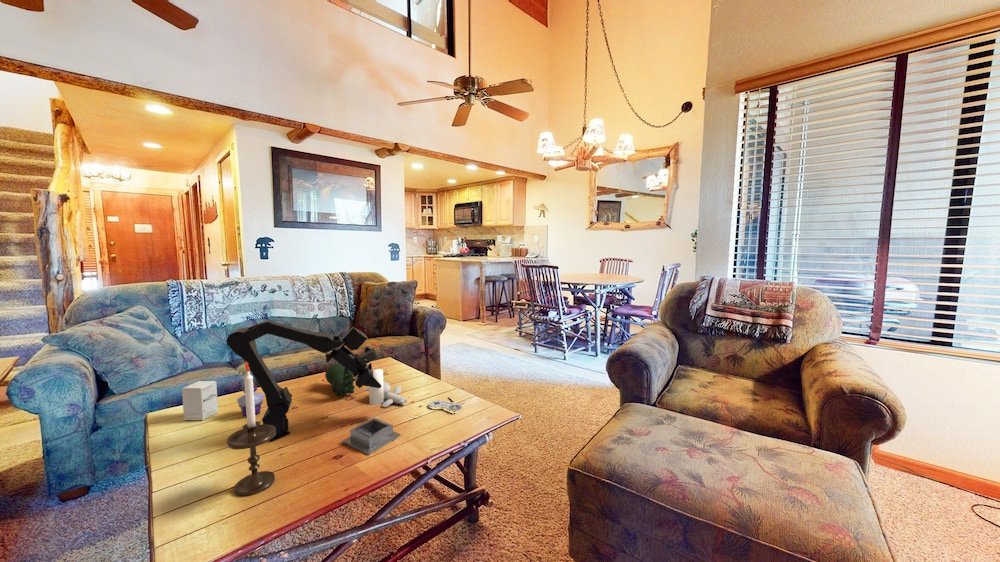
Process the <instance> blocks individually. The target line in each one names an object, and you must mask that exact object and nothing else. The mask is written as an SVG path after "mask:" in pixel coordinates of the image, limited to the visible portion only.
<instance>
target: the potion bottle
mask: <svg viewBox="0 0 1000 562" xmlns="http://www.w3.org/2000/svg"><path fill="white" fill-rule="evenodd" d="M253 388H254V404H255V415H257V414H259V415H260V414H261V413H260V412H261V409H262V405H263V403H264V399H265V398H264V397H265V393H262V392H257V390H258V386H257V385H256V383H255V382H253ZM242 391H243V393H244V395H241V396H239V398H237V399H236V401H237V404H238V406H239V408H240V410H241V413H242V416H245V417H247V414H246V399H245V387H244V388H243V389H242ZM257 416H258V415H257ZM245 417H244V418H245Z"/></svg>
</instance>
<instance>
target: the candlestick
mask: <svg viewBox="0 0 1000 562" xmlns="http://www.w3.org/2000/svg"><path fill="white" fill-rule="evenodd" d="M248 364H249V363H247V362H246V363H245V366H244V367H245V370H246V375H245V376H244V378H243V381H244V388H245V393H244V395H245V399H246V414H247V418H246V423H245V424H243V426H242V428H241V429H239V430H237V431H235V432H233V433H231V434H230V435H229V436H228V437H227V438H226V446H227V447H228V448H229V449H231V450H237V451H238V450H240V451H241V450H247V449H248V450H249V454H250V455H249V457H247V463H248V464H250V466H249V467H248V470H249V471H251V474H249V475H248V474H247V475H246V476H244V477H243V478H241V479H240V480H239V481H237V482H236V484H235V485H234V494H235V495H237V496H238V497H249V496H255V495H257V494H260V493H262V492H265V491H266V490H267V489H269V488H271V486H272V485H273V484H274V483H275V481H276V477H275V476H276V475H275V473H274V472H272V471H268V470H263V471H262V470H261V471H258V469H259V468H260V467H261V465H260V464H259V463H258V462H259V460H260V458H261V455H259V454H257V447H258V446H261V445H264V444H265V443H267V442H270V441H269V440H271V439H272V438H273V437H274V436H275V435H276V428H275V426H273V425H268V424H263V423H262V424H261V421H256V416H255V404H254V388H253V383H254V376H253V374H251V371H250V368H249V366H248Z"/></svg>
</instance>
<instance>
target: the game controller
mask: <svg viewBox="0 0 1000 562" xmlns="http://www.w3.org/2000/svg"><path fill="white" fill-rule="evenodd" d="M429 406H430V407H435V408H436V407H441V408H446V409H447V410H449V411H453V412H456V411H460V410H461V409H463V410H464V406H463V405H462V404H459V403H455V402H453V403H452V401H451V402H450V401H447V400H440V399H435V400H431V401H430V402H429V403H428V407H429Z"/></svg>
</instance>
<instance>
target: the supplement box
mask: <svg viewBox="0 0 1000 562" xmlns="http://www.w3.org/2000/svg"><path fill="white" fill-rule="evenodd" d="M181 396H182V408H183V409H182V410H183V412H182V413H183V421H184V420H202V421H201V422H203V421H204V420H206V419H208V418H210V417H212V416H213V415H215V414H217V413H218V412H219V405H218V387H217V381H216V380H213V381H211V380H200V381H199V380H198V381H196V382H194V383H191V384H189V385H187V386H184V387H181ZM211 415H212V416H211Z"/></svg>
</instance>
